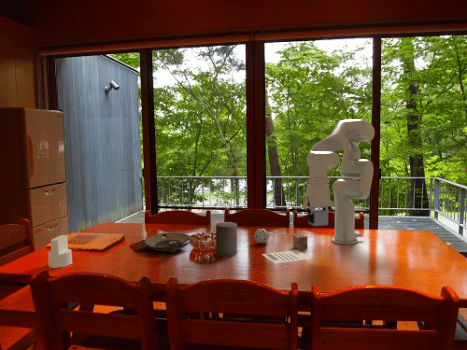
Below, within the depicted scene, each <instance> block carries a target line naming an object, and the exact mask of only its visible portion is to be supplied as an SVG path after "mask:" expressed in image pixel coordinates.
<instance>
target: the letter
mask: <svg viewBox="0 0 467 350" xmlns="http://www.w3.org/2000/svg"><path fill="white" fill-rule="evenodd" d="M261 255H262V256H263V257H265V258H266V259H267V260H269V261H270V262H272V263H274V265H275V264H276V265H277V264H282V263H283V264H284V263H289V262H297V261H298V262H299V261H304V260H312V259H313V257H311V256H309V255H308V254H305V253H304V252H302V251H301V250H298V249H294V250H289V251H287V250H286V251H280V252H278V251H277V252H269V253H262V254H261Z"/></svg>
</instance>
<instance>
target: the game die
mask: <svg viewBox="0 0 467 350" xmlns="http://www.w3.org/2000/svg"><path fill="white" fill-rule="evenodd" d="M270 236H272V234H271V233H269V232H268V231H267V230H266V227H264V228H258V229H257V228H256V227H255V232H254V235H253V236H252V237H251V238H252V239H254V240H255V242H256V243H257V246H259V244H267V245H268V240H269V238H270Z"/></svg>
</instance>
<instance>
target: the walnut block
mask: <svg viewBox="0 0 467 350" xmlns="http://www.w3.org/2000/svg"><path fill="white" fill-rule="evenodd" d="M308 241H309V240H308V236H307V235H305V234H302V233H301V234H293V235H292V247H293V248H294V249H295V250H298V251H301V250H307V249H308Z"/></svg>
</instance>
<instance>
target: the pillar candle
mask: <svg viewBox="0 0 467 350" xmlns="http://www.w3.org/2000/svg"><path fill="white" fill-rule="evenodd" d="M215 245H216V246H215V249H216V253H215V254H216V255H217V256H218V257H219V256H220V257H233V256H236V255H237V254H238V223H235V222H232V221H221V222H218V223H216V224H215Z"/></svg>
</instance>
